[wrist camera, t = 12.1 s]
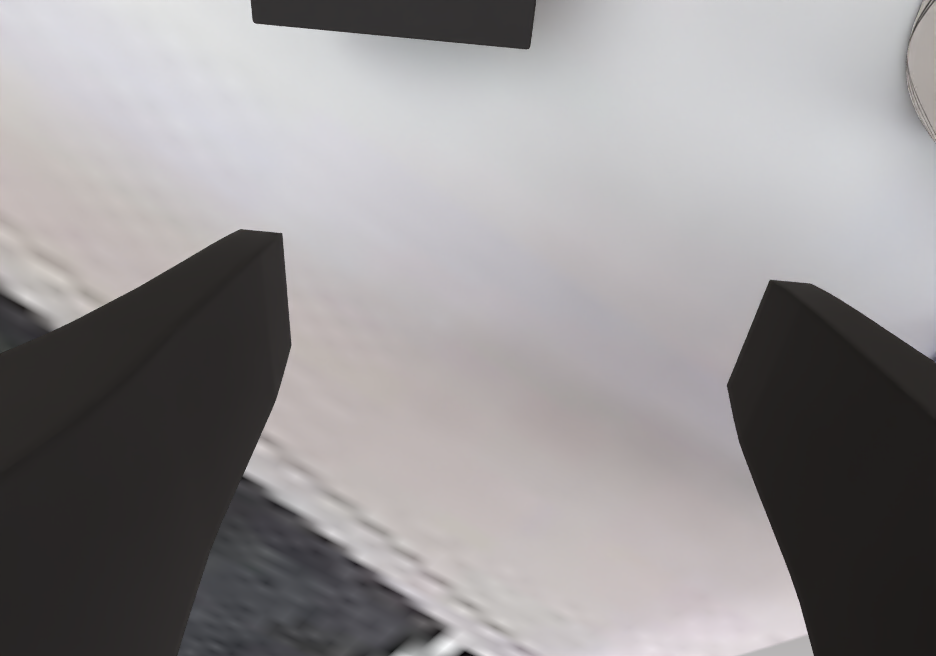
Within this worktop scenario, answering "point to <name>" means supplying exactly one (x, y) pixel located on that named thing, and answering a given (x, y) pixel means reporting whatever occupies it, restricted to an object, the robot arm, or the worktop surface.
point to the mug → (923, 66)
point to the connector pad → (409, 18)
